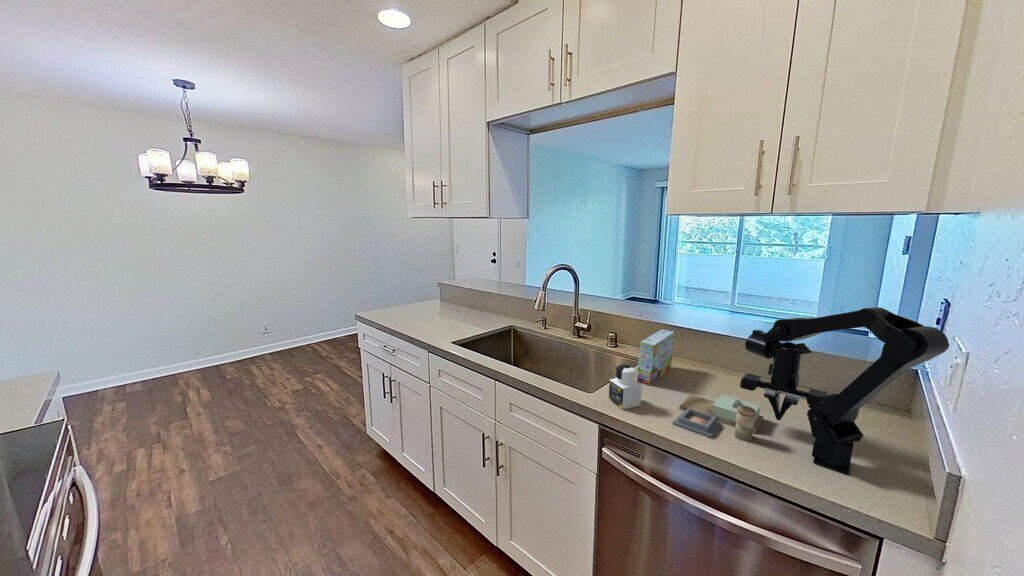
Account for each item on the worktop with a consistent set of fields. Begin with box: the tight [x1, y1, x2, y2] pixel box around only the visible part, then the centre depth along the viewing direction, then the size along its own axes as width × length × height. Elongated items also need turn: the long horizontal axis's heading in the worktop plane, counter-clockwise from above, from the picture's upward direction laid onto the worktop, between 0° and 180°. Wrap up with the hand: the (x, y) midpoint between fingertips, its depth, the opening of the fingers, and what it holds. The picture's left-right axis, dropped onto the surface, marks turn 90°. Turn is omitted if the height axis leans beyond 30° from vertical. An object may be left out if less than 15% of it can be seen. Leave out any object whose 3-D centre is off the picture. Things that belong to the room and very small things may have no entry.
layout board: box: [679, 394, 764, 435], centre depth 112 cm, size 20×10×1 cm, turn 47°
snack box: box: [636, 329, 676, 386], centre depth 140 cm, size 21×6×15 cm, turn 139°
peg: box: [734, 406, 756, 442], centre depth 100 cm, size 4×4×8 cm
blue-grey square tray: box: [672, 408, 722, 439], centre depth 107 cm, size 10×9×2 cm
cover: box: [712, 394, 761, 423], centre depth 109 cm, size 10×9×4 cm
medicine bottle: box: [608, 364, 643, 411], centre depth 118 cm, size 7×7×12 cm
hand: (778, 419), depth 102 cm, fingers closed
